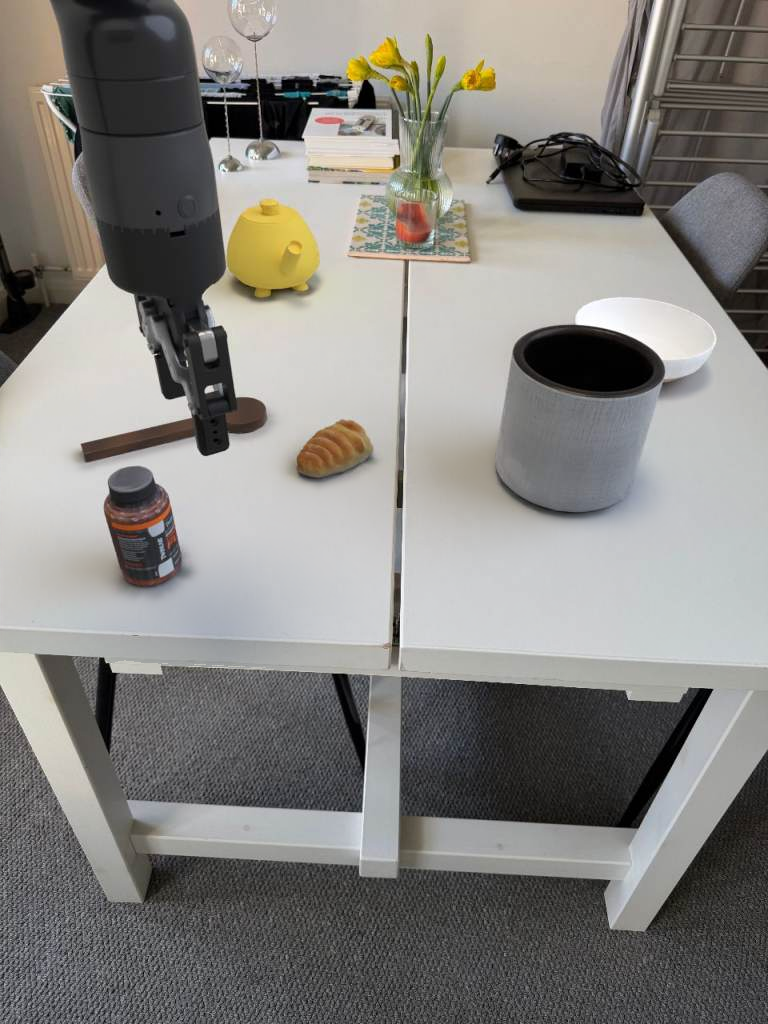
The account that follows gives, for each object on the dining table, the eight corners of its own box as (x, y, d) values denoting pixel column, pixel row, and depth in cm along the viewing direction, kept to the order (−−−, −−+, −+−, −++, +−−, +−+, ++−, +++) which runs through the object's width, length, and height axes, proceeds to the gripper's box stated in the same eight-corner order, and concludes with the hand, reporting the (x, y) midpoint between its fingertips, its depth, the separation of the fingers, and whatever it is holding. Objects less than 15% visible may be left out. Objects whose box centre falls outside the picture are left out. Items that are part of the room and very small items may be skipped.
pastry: (323, 491, 83) (322, 464, 81) (282, 467, 86) (280, 441, 84) (377, 455, 89) (377, 428, 86) (336, 434, 92) (336, 408, 89)
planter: (549, 421, 95) (571, 309, 85) (657, 478, 86) (697, 361, 76) (465, 470, 87) (479, 352, 77) (576, 539, 78) (609, 416, 68)
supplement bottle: (188, 580, 72) (168, 490, 65) (125, 595, 70) (98, 505, 63) (177, 541, 76) (158, 453, 69) (118, 555, 75) (92, 466, 67)
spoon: (89, 471, 85) (86, 462, 84) (79, 442, 89) (77, 433, 88) (273, 426, 93) (273, 416, 92) (257, 401, 97) (256, 392, 96)
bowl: (652, 327, 117) (662, 290, 113) (732, 388, 103) (747, 348, 99) (543, 343, 112) (549, 305, 108) (611, 409, 98) (622, 368, 94)
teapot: (344, 304, 120) (343, 219, 112) (252, 320, 115) (244, 232, 106) (302, 260, 134) (298, 181, 125) (219, 273, 129) (208, 191, 120)
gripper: (68, 178, 48) (120, 391, 59) (126, 251, 39) (176, 488, 50) (179, 164, 51) (209, 369, 62) (257, 229, 42) (278, 457, 53)
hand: (194, 422), depth 56 cm, fingers open, 8 cm apart
